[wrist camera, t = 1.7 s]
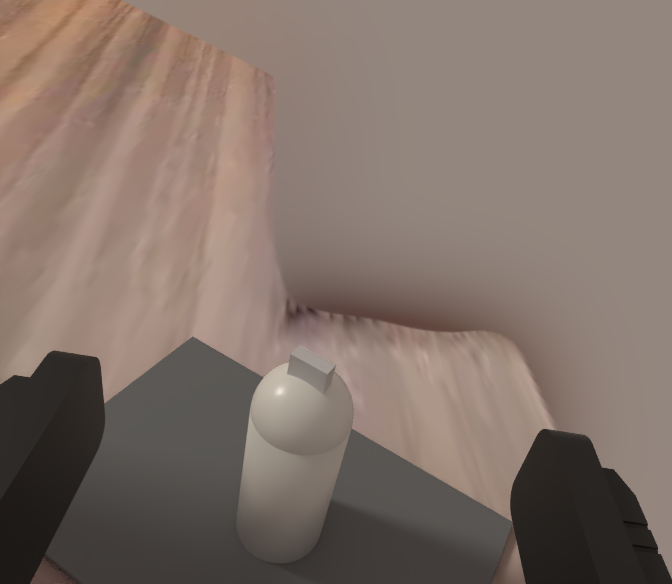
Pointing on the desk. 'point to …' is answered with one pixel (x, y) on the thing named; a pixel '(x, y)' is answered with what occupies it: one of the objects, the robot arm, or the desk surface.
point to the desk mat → (224, 488)
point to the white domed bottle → (292, 457)
